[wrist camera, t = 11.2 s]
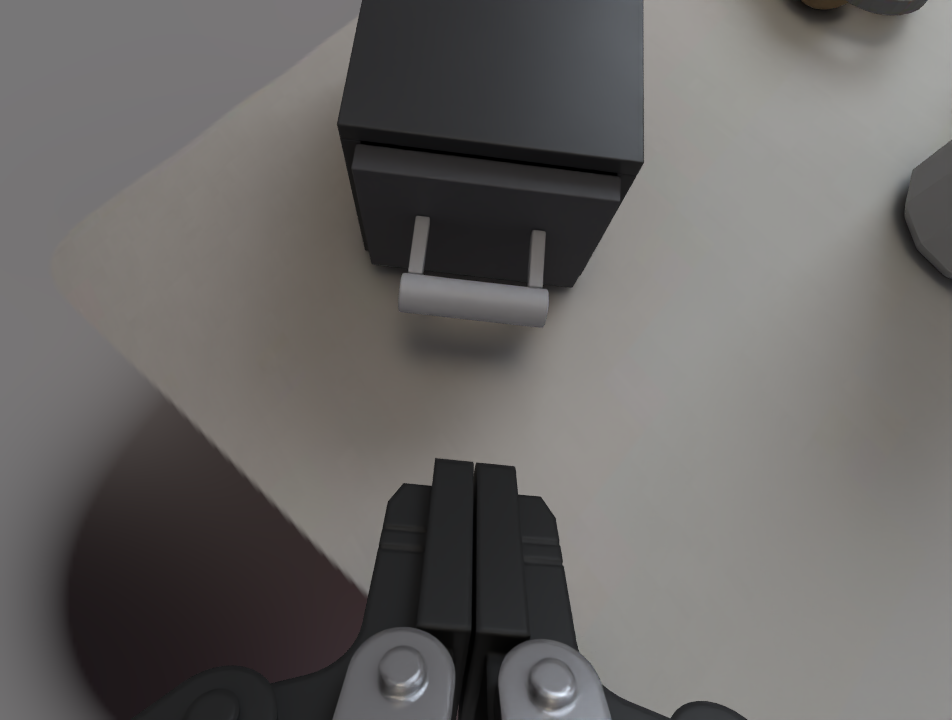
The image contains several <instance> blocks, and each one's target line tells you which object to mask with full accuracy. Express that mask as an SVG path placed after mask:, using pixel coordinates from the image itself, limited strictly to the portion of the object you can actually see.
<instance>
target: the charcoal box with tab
mask: <svg viewBox="0 0 952 720" xmlns="http://www.w3.org/2000/svg"><path fill="white" fill-rule="evenodd" d="M337 126H338V130H339V135H340V140H341V144H342V148H343V153H344V157H345V162H346V166H347V171H348V175H349V180H350V184H351V189H352V193H353V198H354V202H355V207H356V211H357V216H358V220H359V225H360V229H361V234H362V238H363V242H364V247H365V250H366V251H369V249H368V245H367V240H366V235H365V230H364V226H363V221H362V216H361V211H360V207H359V202H358V197H357V192H356V188H355V183H354V178H353V174H352V169H351V168H352V163H353V157H354V152H355V147H356V144H364V145H372V146H380V147H383V145H382V143H384V144H392V145H400V146H408V147H416V148H424V149H432V150H439V151H447V152H455V153H463V154H471V155H479V156H487V157H495V158H503V159H511V160H519V161H527V162H535V163H543V164H550V165H558V166H566V167H574V168H582V169H590V170H593V172H592V173H595V174H603V175H611V176H619V177H620V178H621V191H620V203H619V205H618V207H617V209H616V210H615V212H614V214H613V216H612V218H613V217H614V215H615V213H616V211H617V210H618V208H619V206H620V204H621V202H622V201H623V199H624V197H625V195H626V194H627V192H628V190H629V188H630V187H631V185H632V183H633V181H634V179H635V178H636V175H637V174H638V172H639V171H640V169H641V167H642V165H643V163H644V87H643V0H362V4H361V8H360V13H359V18H358V23H357V28H356V33H355V38H354V43H353V48H352V53H351V58H350V63H349V68H348V73H347V78H346V83H345V87H344V92H343V97H342V102H341V107H340V112H339V117H338V122H337ZM612 218H611V219H610V221H609V223H608V225H607V227H608V226H609V224H610V222H611V220H612ZM607 227H606V228H605V230H604V232H603V234H604V233H605V231H606V229H607ZM603 234H602V235H601V237H600V239H599V241H600V240H601V238H602V236H603ZM599 241H598V243H599ZM598 243H597V244H596V246H595V248H594V250H595V249H596V247H597V245H598ZM594 250H593V252H594ZM593 252H592V253H591V255H590V257H591V256H592V254H593ZM590 257H589V259H590ZM589 259H588V261H589ZM588 261H587V262H586V264H585V266H586V265H587V263H588ZM585 266H584V268H585ZM584 268H583V269H582V271H581V273H582V272H583V270H584ZM581 273H580V275H581Z"/></svg>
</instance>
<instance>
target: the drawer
mask: <svg viewBox="0 0 952 720" xmlns="http://www.w3.org/2000/svg"><path fill="white" fill-rule="evenodd" d="M382 145H383V147H380V146H372V145H364V144H356V147H355V152H354V157H353V163H352V168H351V169H352V174H353V178H354V183H355V188H356V192H357V197H358V202H359V207H360V211H361V216H362V221H363V226H364V230H365V235H366V240H367V245H368V249H369V254H370V259H371V263H372V264H375V265H384V266H392V267H401V268H408V273H403V274H402V276H401V281H400V287H399V297H398V309H399V311H400V312H406V313H415V314H424V315H432V316H441V317H450V318H459V319H468V320H477V321H486V322H495V323H503V324H512V325H521V326H530V327H539V328H542V327H544V325H545V322H546V319H547V314H548V306H549V293H548V290H547V289H542V287H543V284H547V285H556V286H564V287H573V286H574V284H575V282H576V280H577V278H578V277H579V275H580V273H581V271H582V269H583V268H584V266H585V264H586V262H587V261H588V259H589V257H590V255H591V253H592V252H593V250H594V248H595V246H596V244H597V243H598V241H599V239H600V237H601V235H602V234H603V232H604V230H605V228H606V227H607V225H608V223H609V221H610V219H611V218H612V216H613V214H614V212H615V210H616V209H617V207H618V205H619V203H620V191H621V178H620V177H619V176H611V175H603V174H595V173H592V172H593V170H590V169H582V168H574V167H566V166H558V165H550V164H543V163H535V162H527V161H519V160H511V159H503V158H495V157H487V156H479V155H471V154H463V153H455V152H447V151H439V150H432V149H424V148H416V147H408V146H400V145H392V144H384V143H382ZM424 270H427V271H435V272H444V273H453V274H461V275H470V276H478V277H487V278H495V279H504V280H513V281H521V282H527V287H522V286H514V285H505V284H496V283H488V282H479V281H471V280H462V279H453V278H445V277H436V276H427V275H423V273H424Z"/></svg>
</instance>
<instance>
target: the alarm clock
mask: <svg viewBox="0 0 952 720" xmlns="http://www.w3.org/2000/svg"><path fill="white" fill-rule="evenodd" d="M801 1H802V2H803V3H804V4H806V5H808V6H810V7H812V8H814V9H824V10H826V9H832V8H837V7H840V6H842V5H844V4H846V3H851V4H853V5H855V6H856V7H859V8H861V9H863V10H866V11H869V12H873V13H876V14H883V15H903V14H908V13H911V12H914V11H916V10H918V9H920V8H921V7H922V6H923V5H924V4H925V3H926V1H927V0H801Z"/></svg>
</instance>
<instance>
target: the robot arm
mask: <svg viewBox="0 0 952 720" xmlns="http://www.w3.org/2000/svg"><path fill="white" fill-rule="evenodd" d="M562 562H563V560H562V554H561V548H560V546H559V536H558V530H557V524H556V518H555V517H554V515H553V514H552V512H551V511H550V509H549V508H548V506H547V505H546V503H545V502H544V501H543V499H542V498H541V497H538V496H527V495H518V489H517V478H516V469H515V467H514V466H506V465H496V464H486V463H476V465H475V470H474V463H473V462H468V461H458V460H448V459H438V458H435V465H434V474H433V483H432V486H427V485H417V484H407V483H403V485H402V486H401V487H400V488H399V489H398V490H397V492H396V493H395V494H394V495H393V496H392V498H391V499H390V500H389V501H388V504H387V509H386V514H385V518H384V523H383V529H382V533H381V537H380V542H379V549H378V552H377V556H376V561H375V566H374V571H373V576H372V580H371V585H370V590H369V595H368V599H367V604H366V609H365V614H364V618H363V623H362V626H361V630H360V632H359V634H358V637H357V639H356V640H355V642H354V643H353V645H352V646H351V648H350V649H349V650H348V651H347V652H346V653H345V654H344V655H343V656H342V657H340V658H339V659H338V660H337V661H336V662H334V663H332V664H331V665H329V666H328V667H326V668H324V669H321V670H319V671H317V672H314V673H311V674H308V675H304V676H300V677H296V678H292V679H287V680H283V681H279V682H275V683H271V684H270V683H269V682H268V680H267V679H266V678H265V677H263V676H262V675H261V674H260V673H258V672H256V671H254V670H252V669H249V668H246V667H242V666H221V667H216V668H212V669H209V670H205V671H203V672H201V673H199V674H196V675H194V676H192V677H191V678H189V679H187V680H186V681H184V682H183V683H181V684H180V685H178V686H177V687H176V688H174V689H173V690H171V691H170V692H169V693H167V694H166V695H164V696H163V697H162V698H160V699H159V700H157V701H156V702H155V703H153V704H152V705H151V706H149V707H148V708H146V709H145V710H143V711H142V712H141V713H139V714H138V715H136V716H135V717H134V718H132V719H131V720H456V716H457V710H458V704H459V710H458V720H747V719H746V718H744V717H743V716H741V715H740V714H738V713H737V712H735V711H733V710H731V709H729V708H727V707H725V706H723V705H720V704H717V703H713V702H708V701H696V702H690V703H687V704H685V705H683V706H681V707H680V708H679V709H677V710H676V711H675V713H674V714H673V715H672V717H671V719H670V718H668V717H665V716H663V715H661V714H658V713H656V712H653V711H651V710H649V709H646V708H644V707H641V706H639V705H636V704H634V703H632V702H629V701H627V700H625V699H623V698H621V697H619V696H617V695H616V694H614V693H613V692H611V691H609V690H608V689H607V688H606V687H605V686H603V685H602V684H601V681H600V678H599V676H598V674H597V673H596V671H595V669H594V668H593V666H592V665H591V664H590V662H589V661H588V660H587V659H586V658H585V657H584V656H583V655H582V654H580V653H579V650H578V646H577V642H576V636H575V631H574V625H573V619H572V613H571V607H570V601H569V595H568V589H567V583H566V577H565V571H564V566H563V565H562Z"/></svg>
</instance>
